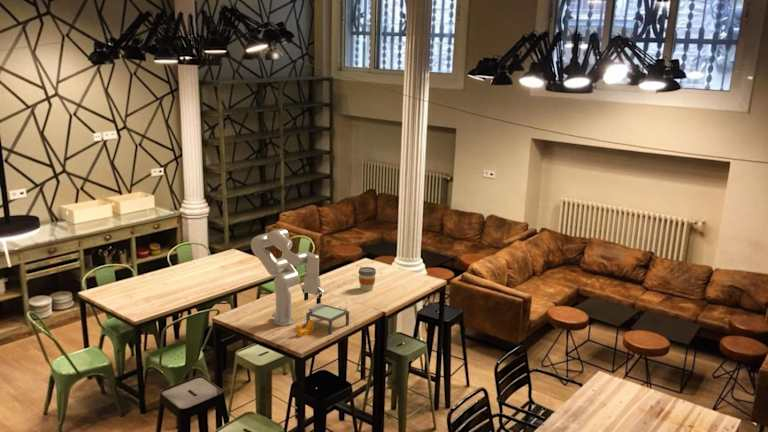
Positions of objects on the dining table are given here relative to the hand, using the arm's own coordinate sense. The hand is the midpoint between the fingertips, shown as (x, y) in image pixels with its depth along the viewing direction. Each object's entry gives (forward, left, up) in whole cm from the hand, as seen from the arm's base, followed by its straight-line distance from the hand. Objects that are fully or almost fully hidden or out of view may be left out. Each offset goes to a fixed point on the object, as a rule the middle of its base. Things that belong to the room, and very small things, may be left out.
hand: (312, 301), depth 412 cm
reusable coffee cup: (-18, +85, -20) cm, 89 cm away
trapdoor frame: (+2, +13, -20) cm, 24 cm away
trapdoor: (0, +13, -11) cm, 18 cm away
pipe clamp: (-2, -4, -20) cm, 20 cm away
